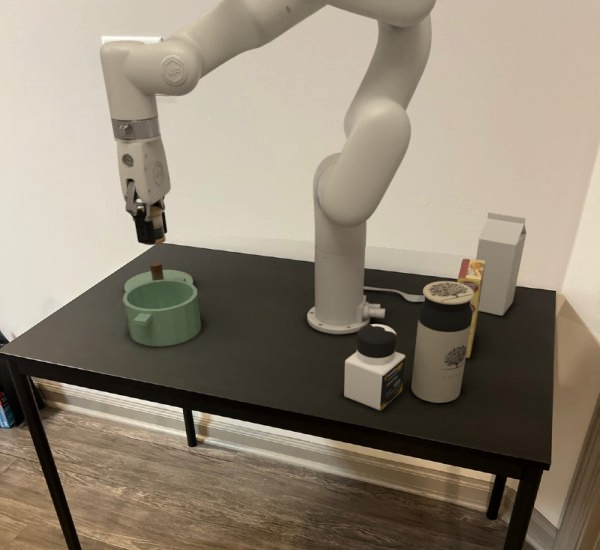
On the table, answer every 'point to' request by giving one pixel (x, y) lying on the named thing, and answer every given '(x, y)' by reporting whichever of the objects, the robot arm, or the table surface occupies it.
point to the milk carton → (500, 261)
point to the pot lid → (156, 276)
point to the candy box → (473, 278)
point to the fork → (407, 296)
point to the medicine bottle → (374, 368)
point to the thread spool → (156, 224)
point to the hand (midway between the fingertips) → (152, 236)
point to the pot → (162, 312)
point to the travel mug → (442, 341)
